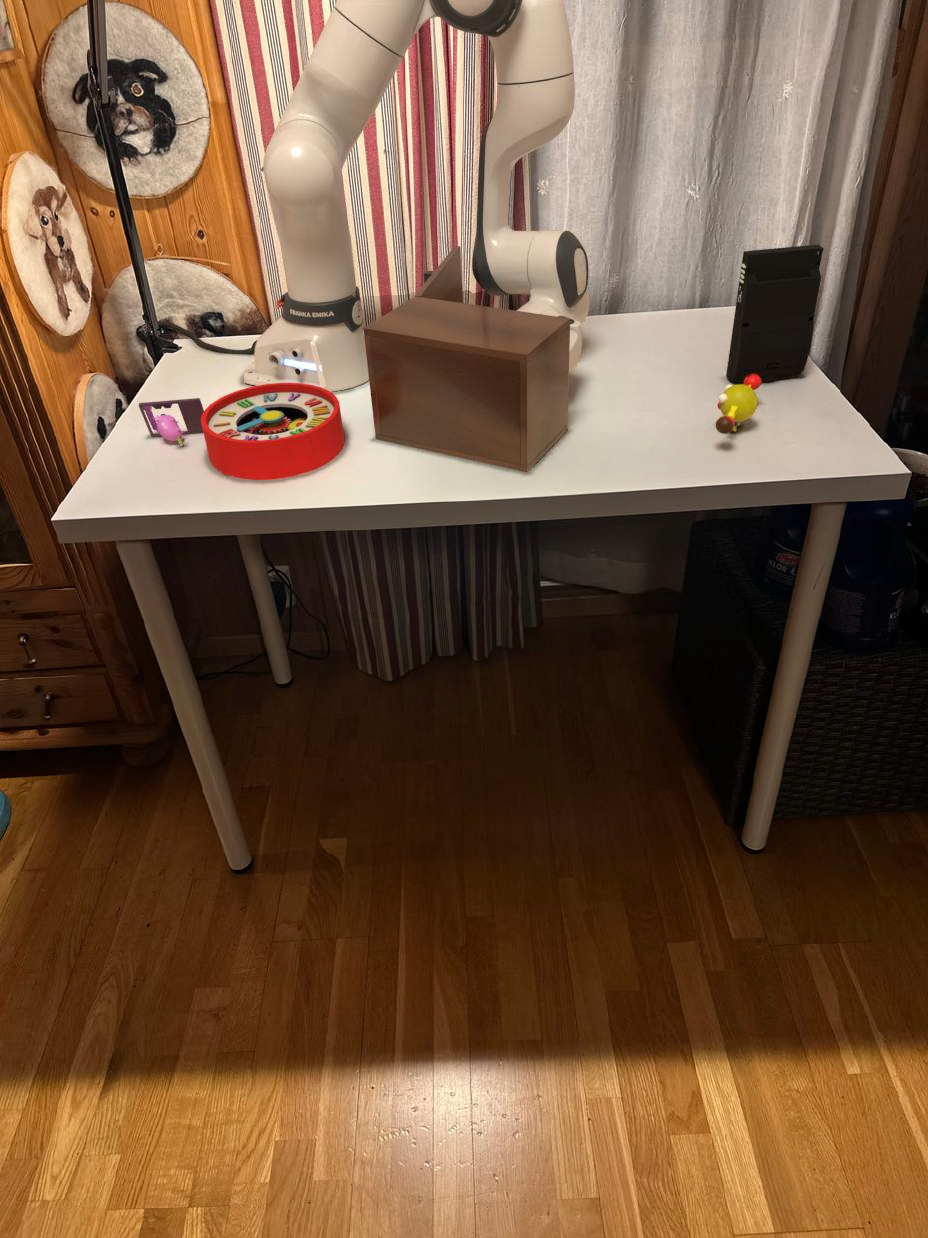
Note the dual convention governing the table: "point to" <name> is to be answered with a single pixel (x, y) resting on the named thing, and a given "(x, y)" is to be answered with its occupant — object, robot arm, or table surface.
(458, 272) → the cabinet door
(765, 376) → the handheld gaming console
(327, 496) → the table surface
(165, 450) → the table surface
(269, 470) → the toy clock
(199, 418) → the pink toy with backboard
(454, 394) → the cabinet
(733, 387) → the toy figure
